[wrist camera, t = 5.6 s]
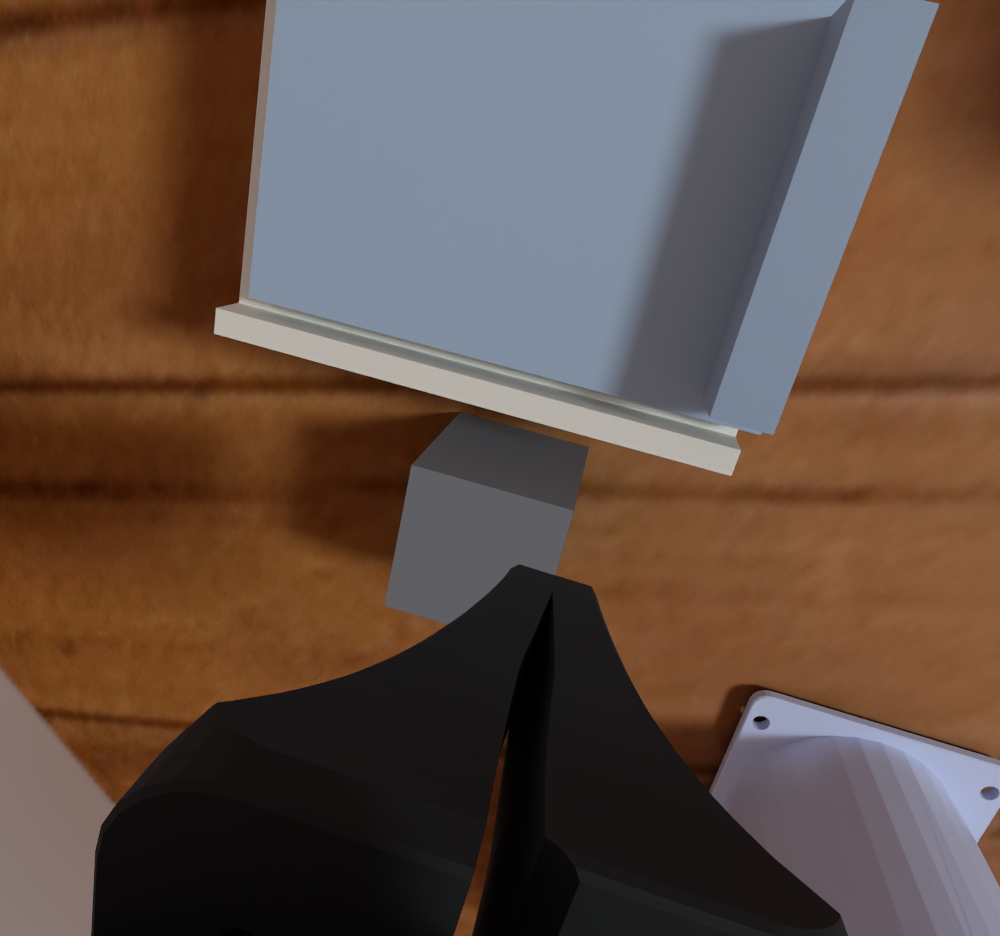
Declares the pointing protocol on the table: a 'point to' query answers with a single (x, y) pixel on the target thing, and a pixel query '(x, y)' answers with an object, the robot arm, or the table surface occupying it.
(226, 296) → the table surface
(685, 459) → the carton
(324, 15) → the lid
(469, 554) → the rubber block
